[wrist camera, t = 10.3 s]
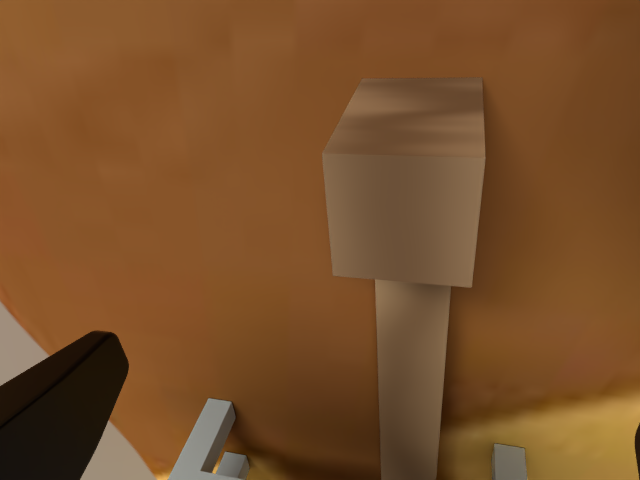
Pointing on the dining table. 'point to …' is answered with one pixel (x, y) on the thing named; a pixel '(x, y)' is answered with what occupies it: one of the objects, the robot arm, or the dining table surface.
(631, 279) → the dining table surface
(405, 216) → the wooden mallet
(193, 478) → the grey bridge
